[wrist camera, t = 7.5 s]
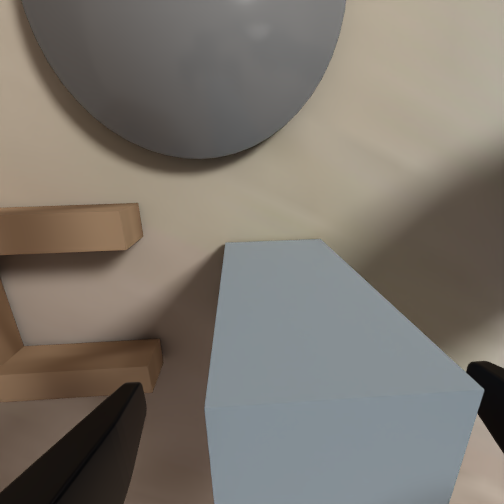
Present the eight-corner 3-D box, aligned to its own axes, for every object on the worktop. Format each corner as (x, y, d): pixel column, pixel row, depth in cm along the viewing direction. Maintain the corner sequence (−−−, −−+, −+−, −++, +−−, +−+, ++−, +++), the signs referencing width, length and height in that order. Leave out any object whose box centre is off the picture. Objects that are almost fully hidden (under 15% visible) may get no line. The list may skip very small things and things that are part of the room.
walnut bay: (137, 203, 12) (119, 211, 10) (163, 362, 15) (152, 392, 13) (-62, 209, 12) (-120, 219, 10) (2, 371, 14) (-34, 404, 12)
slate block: (320, 239, 13) (484, 389, 4) (315, 321, 14) (432, 555, 6) (225, 242, 13) (204, 407, 4) (230, 325, 14) (221, 575, 6)
